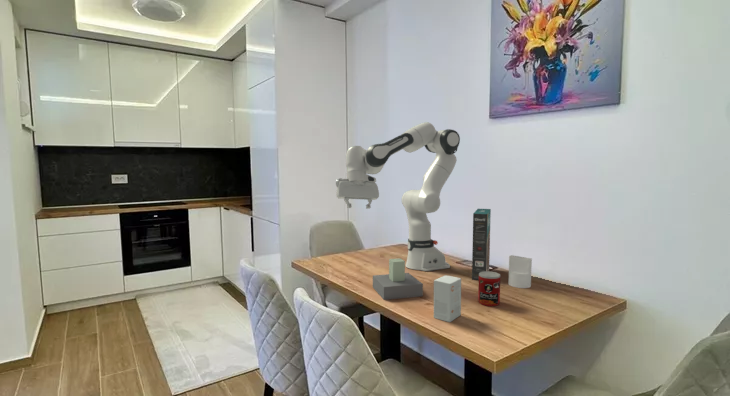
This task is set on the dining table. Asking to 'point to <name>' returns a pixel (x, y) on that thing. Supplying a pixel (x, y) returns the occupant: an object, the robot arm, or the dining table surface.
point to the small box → (447, 298)
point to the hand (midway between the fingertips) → (359, 208)
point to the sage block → (397, 269)
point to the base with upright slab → (520, 271)
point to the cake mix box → (481, 242)
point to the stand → (397, 287)
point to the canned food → (489, 288)
